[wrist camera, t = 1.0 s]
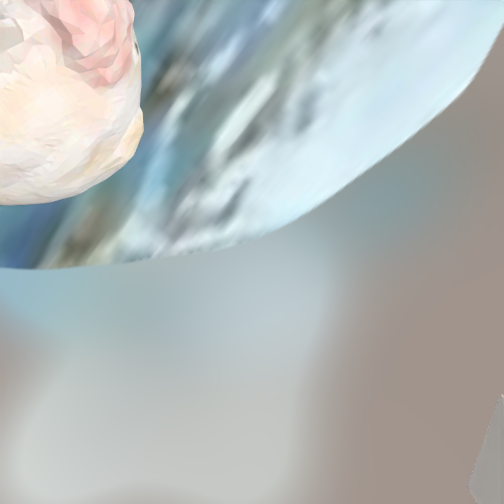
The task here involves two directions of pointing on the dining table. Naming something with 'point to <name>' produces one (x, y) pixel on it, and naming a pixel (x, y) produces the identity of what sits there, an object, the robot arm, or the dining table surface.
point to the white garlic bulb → (66, 96)
